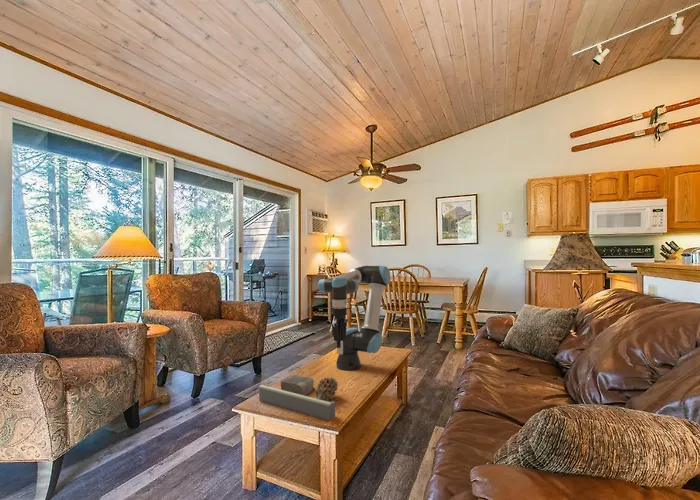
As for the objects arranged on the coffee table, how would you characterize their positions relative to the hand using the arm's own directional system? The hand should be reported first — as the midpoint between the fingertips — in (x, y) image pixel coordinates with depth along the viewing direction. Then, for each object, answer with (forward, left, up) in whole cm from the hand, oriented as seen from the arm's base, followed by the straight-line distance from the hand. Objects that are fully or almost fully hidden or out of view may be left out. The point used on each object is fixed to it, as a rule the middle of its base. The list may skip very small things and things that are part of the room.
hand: (339, 353), depth 168 cm
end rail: (+27, -7, -18) cm, 33 cm away
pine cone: (+17, +1, -19) cm, 25 cm away
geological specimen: (+10, -19, -19) cm, 28 cm away
